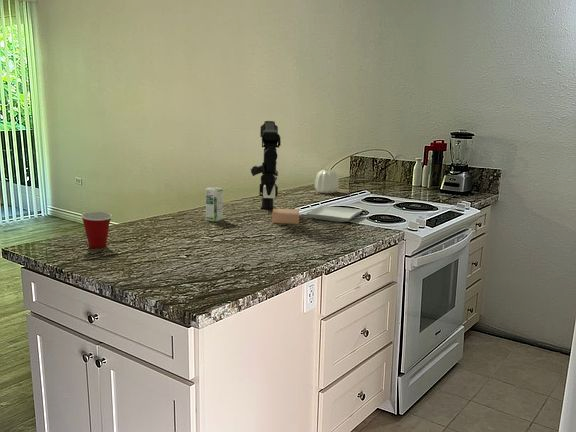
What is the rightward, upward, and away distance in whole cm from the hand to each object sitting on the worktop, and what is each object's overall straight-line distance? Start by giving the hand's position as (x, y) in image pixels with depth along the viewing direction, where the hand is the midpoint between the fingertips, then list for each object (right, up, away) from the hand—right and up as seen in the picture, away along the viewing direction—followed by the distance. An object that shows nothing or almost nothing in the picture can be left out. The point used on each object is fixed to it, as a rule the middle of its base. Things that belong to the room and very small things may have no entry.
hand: (269, 194), depth 259 cm
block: (0, -1, 0) cm, 1 cm away
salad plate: (+30, -11, +11) cm, 34 cm away
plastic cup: (-61, -21, -49) cm, 81 cm away
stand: (+7, -12, +1) cm, 14 cm away
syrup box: (-25, -12, -2) cm, 27 cm away
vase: (+31, +4, +75) cm, 81 cm away
